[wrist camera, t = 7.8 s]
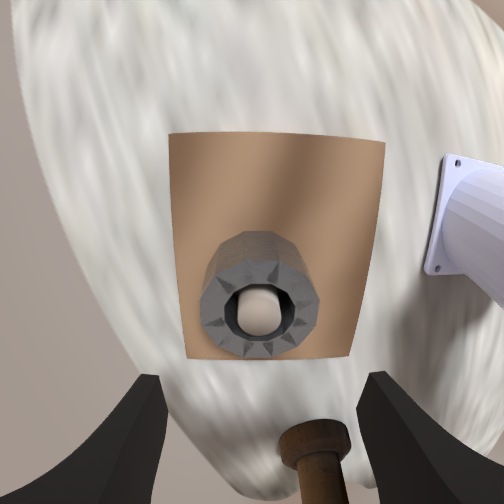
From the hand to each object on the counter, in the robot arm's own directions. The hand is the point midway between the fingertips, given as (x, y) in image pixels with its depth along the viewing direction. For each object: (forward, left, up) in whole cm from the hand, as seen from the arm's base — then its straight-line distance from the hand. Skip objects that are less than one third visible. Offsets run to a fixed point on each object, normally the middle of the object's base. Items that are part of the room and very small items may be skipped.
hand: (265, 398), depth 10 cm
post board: (-1, -1, -9) cm, 10 cm away
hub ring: (0, 0, -8) cm, 8 cm away
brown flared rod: (-6, +18, -10) cm, 21 cm away
